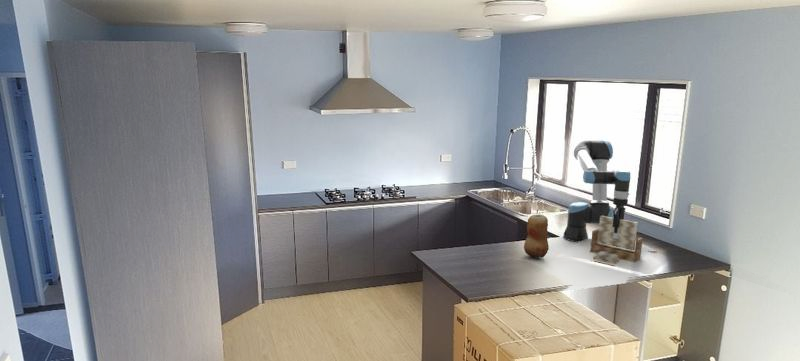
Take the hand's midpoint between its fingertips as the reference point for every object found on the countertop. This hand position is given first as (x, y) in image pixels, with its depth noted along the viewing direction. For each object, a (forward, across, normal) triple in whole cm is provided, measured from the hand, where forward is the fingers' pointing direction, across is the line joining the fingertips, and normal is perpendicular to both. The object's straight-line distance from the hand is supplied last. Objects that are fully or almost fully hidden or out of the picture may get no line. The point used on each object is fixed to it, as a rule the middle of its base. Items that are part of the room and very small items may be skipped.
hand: (616, 237), depth 292 cm
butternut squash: (+12, -35, +32) cm, 49 cm away
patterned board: (+5, 0, 0) cm, 5 cm away
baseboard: (+13, +33, +1) cm, 35 cm away
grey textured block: (+12, -14, 0) cm, 18 cm away
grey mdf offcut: (+9, -14, 0) cm, 16 cm away
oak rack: (+12, 0, 0) cm, 12 cm away
